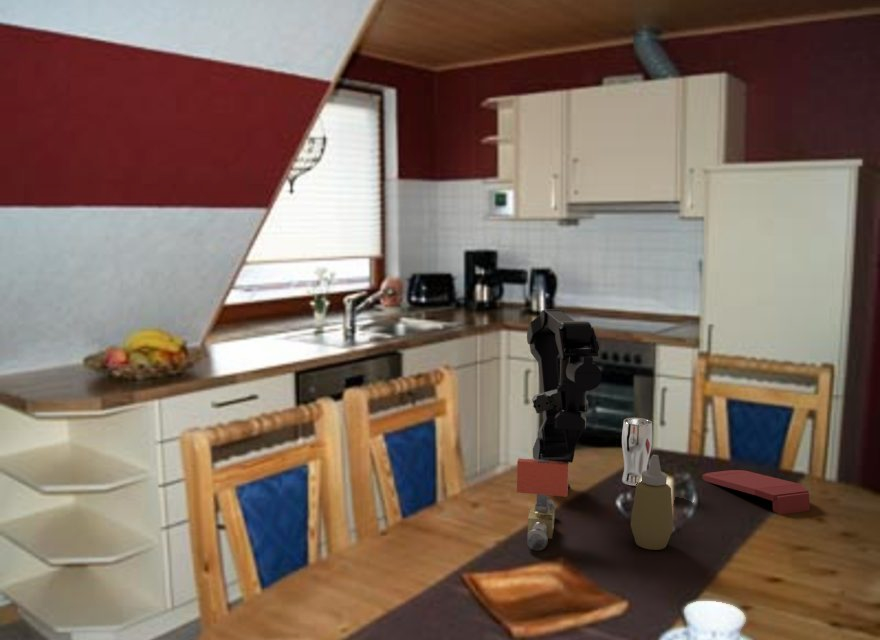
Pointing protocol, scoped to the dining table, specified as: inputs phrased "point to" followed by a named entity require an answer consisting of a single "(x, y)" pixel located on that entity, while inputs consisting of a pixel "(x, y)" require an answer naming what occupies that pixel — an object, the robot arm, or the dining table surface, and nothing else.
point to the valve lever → (542, 480)
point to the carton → (764, 489)
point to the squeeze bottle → (652, 509)
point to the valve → (540, 527)
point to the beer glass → (635, 448)
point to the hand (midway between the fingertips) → (570, 450)
